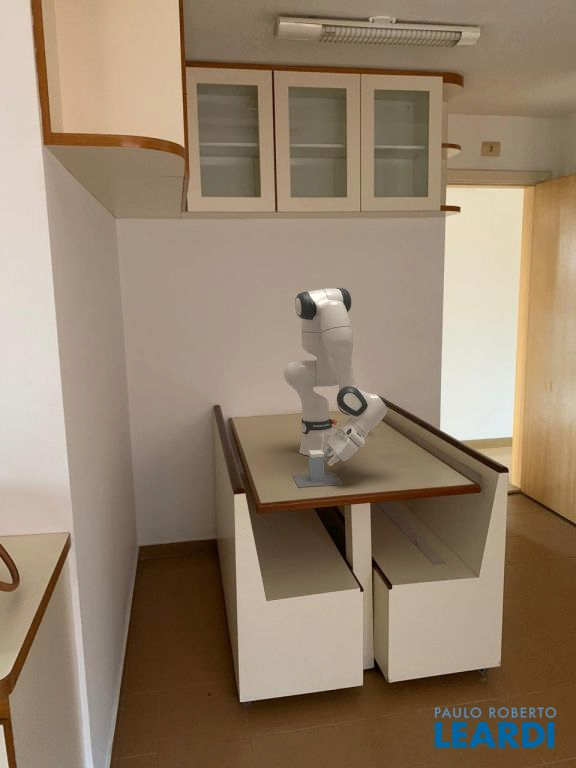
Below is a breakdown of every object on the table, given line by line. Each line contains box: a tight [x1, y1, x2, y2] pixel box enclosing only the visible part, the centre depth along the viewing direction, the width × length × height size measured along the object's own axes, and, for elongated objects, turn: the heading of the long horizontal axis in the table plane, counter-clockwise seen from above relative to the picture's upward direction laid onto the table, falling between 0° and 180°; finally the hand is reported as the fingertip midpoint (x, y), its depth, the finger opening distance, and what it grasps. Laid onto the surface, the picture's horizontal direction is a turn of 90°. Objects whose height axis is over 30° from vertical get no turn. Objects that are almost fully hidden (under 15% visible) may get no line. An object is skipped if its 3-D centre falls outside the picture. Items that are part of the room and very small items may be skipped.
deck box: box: [308, 450, 325, 482], centre depth 211 cm, size 5×5×10 cm
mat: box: [291, 471, 344, 489], centre depth 212 cm, size 16×14×1 cm
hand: (325, 460), depth 211 cm, fingers open, 8 cm apart
